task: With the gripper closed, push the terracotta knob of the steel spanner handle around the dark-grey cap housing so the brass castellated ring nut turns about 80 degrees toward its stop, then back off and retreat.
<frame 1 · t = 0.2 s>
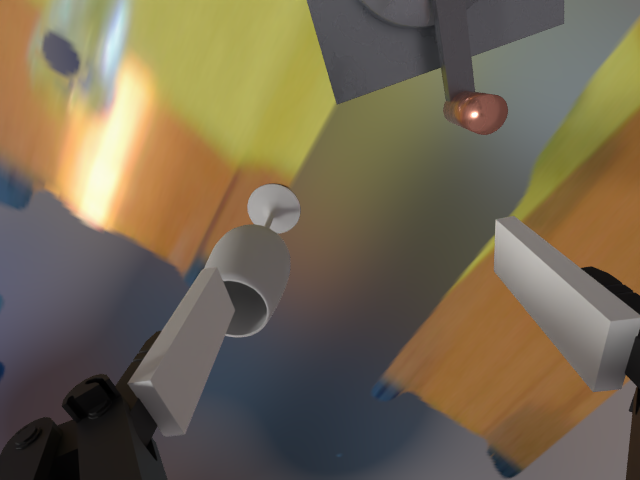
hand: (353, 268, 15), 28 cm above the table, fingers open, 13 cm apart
wineglass: (274, 208, 44), on the table
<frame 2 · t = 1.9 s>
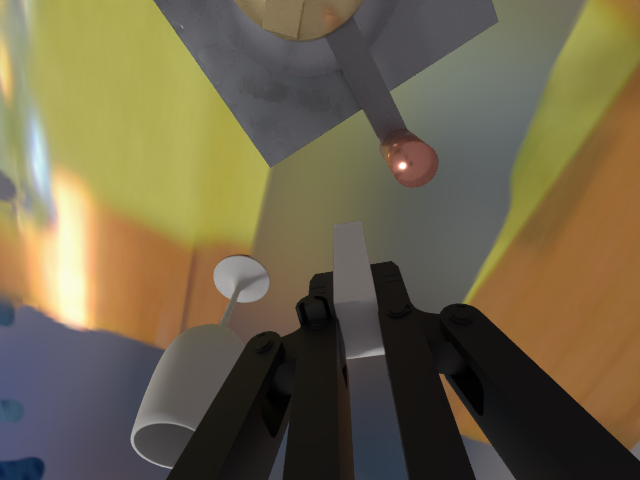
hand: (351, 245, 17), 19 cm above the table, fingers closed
ring nut: (344, 32, 23), point 8 cm above the table, hinge at 0.0°
wineglass: (242, 278, 42), on the table
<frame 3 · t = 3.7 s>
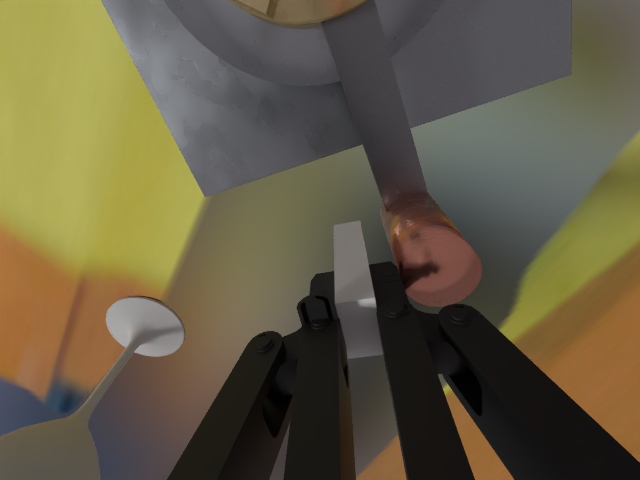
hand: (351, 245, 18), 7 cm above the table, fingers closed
ring nut: (354, 21, 13), point 7 cm above the table, hinge at 3.7°, touching gripper
wineglass: (147, 325, 31), on the table
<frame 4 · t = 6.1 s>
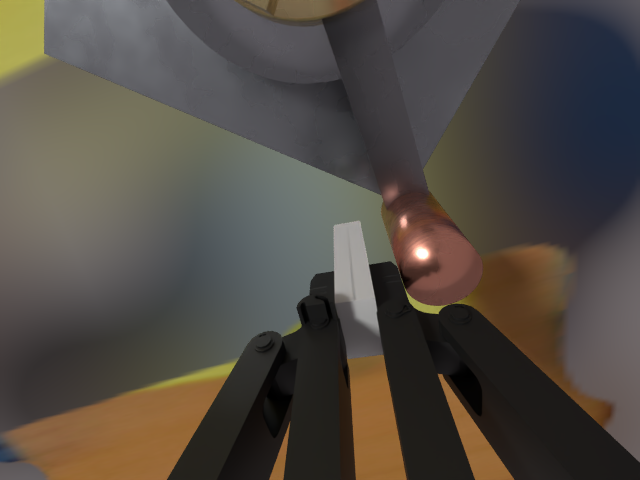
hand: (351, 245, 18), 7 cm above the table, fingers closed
ring nut: (355, 18, 12), point 7 cm above the table, hinge at 45.0°, touching gripper
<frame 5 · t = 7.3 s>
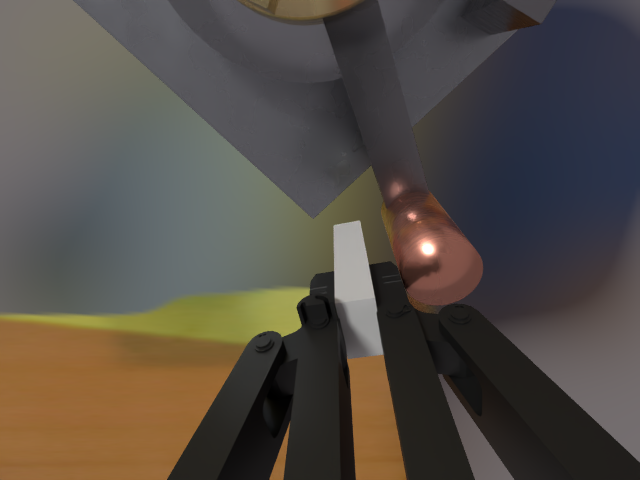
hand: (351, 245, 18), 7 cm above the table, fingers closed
ring nut: (356, 17, 12), point 8 cm above the table, hinge at 66.8°, touching gripper
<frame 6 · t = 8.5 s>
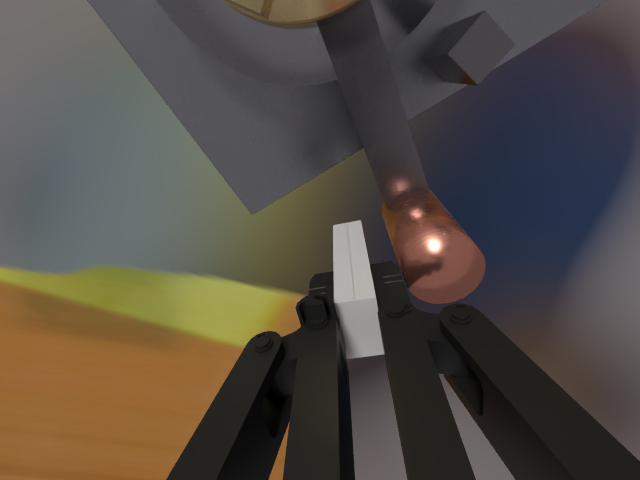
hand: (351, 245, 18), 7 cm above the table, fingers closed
ring nut: (349, 18, 12), point 7 cm above the table, hinge at 82.1°
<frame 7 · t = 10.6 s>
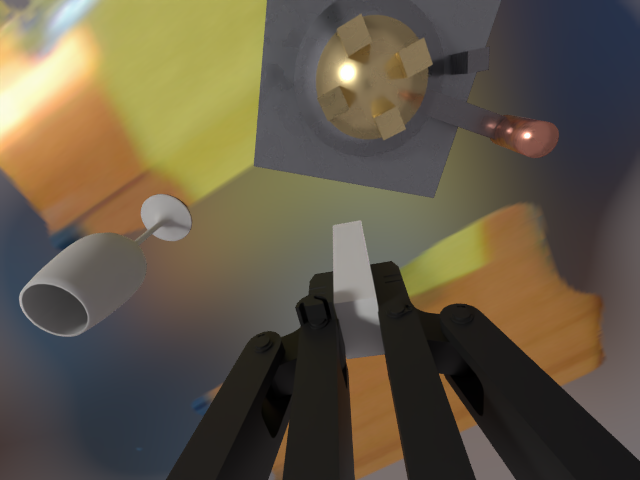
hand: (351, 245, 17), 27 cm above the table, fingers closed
housing: (365, 81, 38), on the table
ring nut: (429, 102, 32), point 7 cm above the table, hinge at 82.2°
wineglass: (167, 217, 47), on the table
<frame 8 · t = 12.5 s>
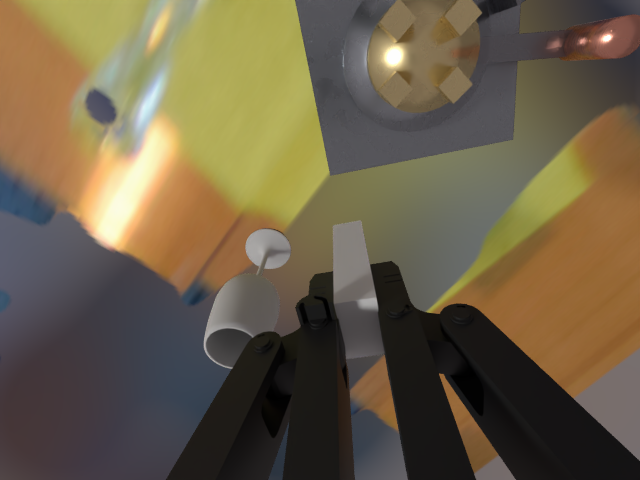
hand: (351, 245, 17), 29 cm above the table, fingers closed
housing: (409, 57, 39), on the table
ring nut: (488, 49, 32), point 8 cm above the table, hinge at 82.2°
wineglass: (268, 248, 52), on the table
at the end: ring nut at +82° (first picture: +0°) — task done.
